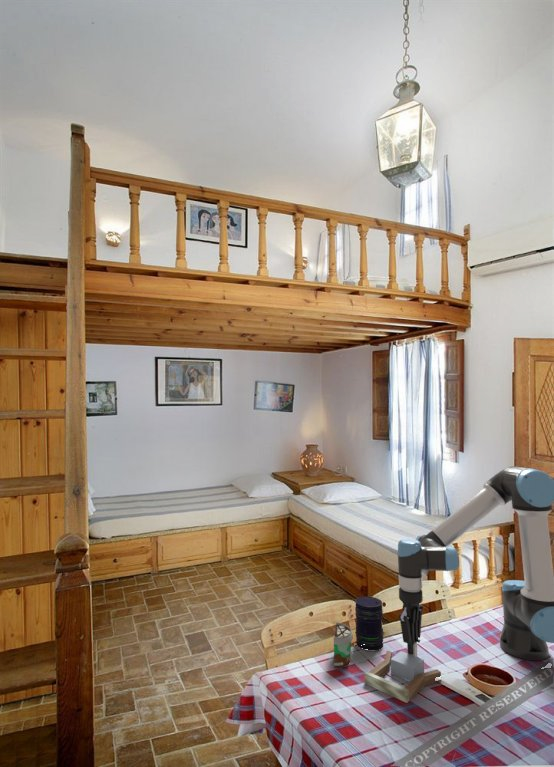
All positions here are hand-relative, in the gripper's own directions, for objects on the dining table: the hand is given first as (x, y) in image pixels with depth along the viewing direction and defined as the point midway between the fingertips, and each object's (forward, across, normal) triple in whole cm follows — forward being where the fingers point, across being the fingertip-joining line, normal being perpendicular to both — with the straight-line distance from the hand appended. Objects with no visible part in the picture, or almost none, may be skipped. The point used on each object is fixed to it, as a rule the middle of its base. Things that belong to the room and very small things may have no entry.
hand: (412, 663), depth 143 cm
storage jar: (+2, -4, -19) cm, 19 cm away
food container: (+2, +12, -19) cm, 22 cm away
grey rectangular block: (+2, +4, 0) cm, 5 cm away
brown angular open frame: (+2, +9, 0) cm, 9 cm away
